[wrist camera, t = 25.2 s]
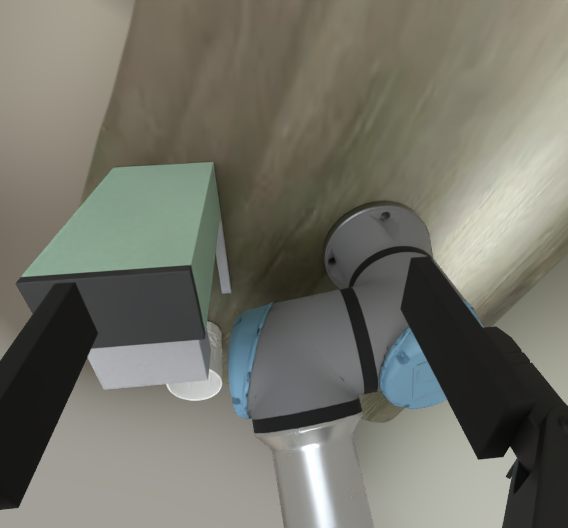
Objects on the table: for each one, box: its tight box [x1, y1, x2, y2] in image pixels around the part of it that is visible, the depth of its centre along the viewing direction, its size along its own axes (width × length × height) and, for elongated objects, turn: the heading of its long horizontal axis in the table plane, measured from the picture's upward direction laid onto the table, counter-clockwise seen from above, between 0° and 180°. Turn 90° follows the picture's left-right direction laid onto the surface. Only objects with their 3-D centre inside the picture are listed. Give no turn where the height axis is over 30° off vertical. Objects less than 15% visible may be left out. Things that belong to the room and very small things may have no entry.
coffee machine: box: [16, 162, 231, 389], centre depth 40 cm, size 20×12×23 cm, turn 2°
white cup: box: [167, 321, 222, 401], centre depth 57 cm, size 8×8×10 cm
